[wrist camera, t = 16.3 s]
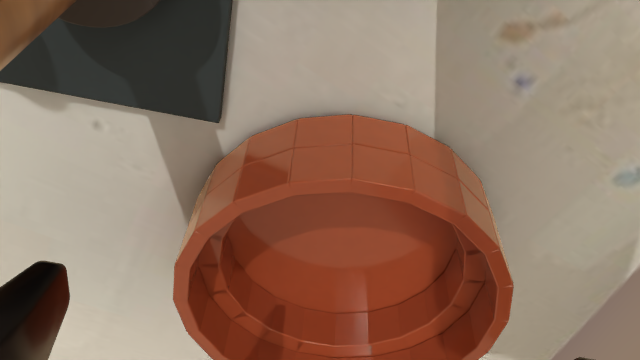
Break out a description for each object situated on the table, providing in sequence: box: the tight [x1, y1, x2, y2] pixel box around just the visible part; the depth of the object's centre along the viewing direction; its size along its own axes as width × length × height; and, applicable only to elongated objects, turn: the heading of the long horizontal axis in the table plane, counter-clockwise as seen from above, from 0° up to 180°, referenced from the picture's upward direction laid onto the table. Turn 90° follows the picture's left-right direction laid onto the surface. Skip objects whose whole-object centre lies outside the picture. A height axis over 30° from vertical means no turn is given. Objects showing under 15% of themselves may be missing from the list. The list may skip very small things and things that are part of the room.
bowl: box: [173, 114, 514, 360], centre depth 24 cm, size 13×13×4 cm
